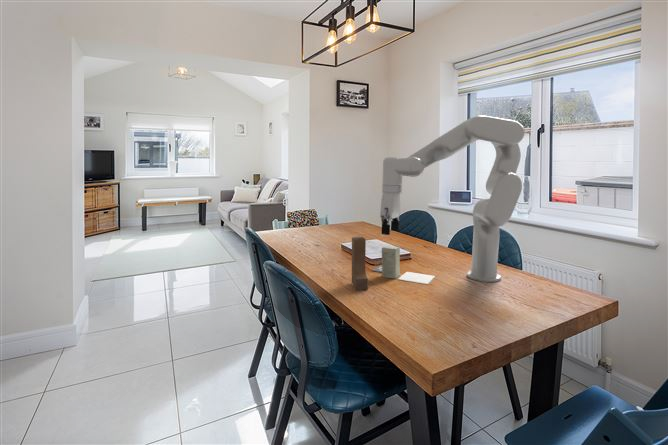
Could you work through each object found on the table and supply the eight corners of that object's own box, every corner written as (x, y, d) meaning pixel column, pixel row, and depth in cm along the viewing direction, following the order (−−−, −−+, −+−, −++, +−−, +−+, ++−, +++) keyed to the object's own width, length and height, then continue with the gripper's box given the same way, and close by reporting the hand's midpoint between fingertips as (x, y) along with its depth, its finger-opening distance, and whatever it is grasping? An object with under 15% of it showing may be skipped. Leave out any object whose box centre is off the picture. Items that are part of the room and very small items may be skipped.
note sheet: (406, 272, 152) (406, 271, 152) (435, 276, 146) (435, 276, 146) (397, 279, 142) (397, 278, 142) (427, 284, 136) (427, 283, 136)
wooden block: (367, 290, 130) (368, 241, 127) (355, 291, 130) (355, 242, 127) (363, 282, 139) (363, 236, 136) (351, 283, 139) (351, 237, 136)
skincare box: (400, 276, 147) (400, 247, 145) (395, 279, 143) (396, 249, 141) (385, 273, 150) (385, 245, 148) (381, 276, 146) (381, 247, 144)
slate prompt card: (379, 266, 161) (379, 265, 161) (390, 268, 158) (390, 267, 158) (372, 271, 154) (372, 270, 154) (382, 272, 151) (382, 271, 151)
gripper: (391, 187, 150) (389, 228, 153) (374, 190, 135) (372, 235, 138) (408, 188, 146) (406, 230, 149) (392, 191, 132) (391, 237, 134)
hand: (390, 232), depth 144 cm, fingers open, 9 cm apart
